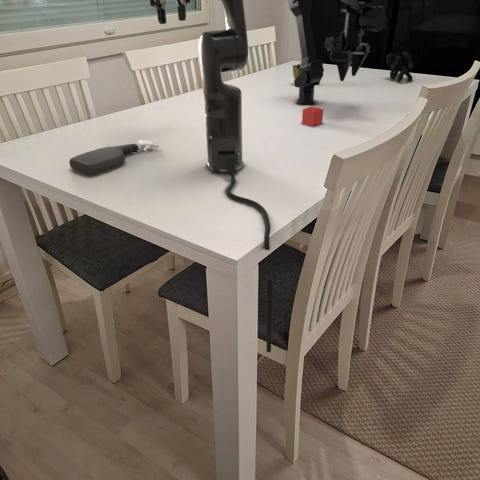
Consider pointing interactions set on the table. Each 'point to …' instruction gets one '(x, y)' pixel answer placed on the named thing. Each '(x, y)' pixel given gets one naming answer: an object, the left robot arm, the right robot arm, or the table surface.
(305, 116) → the block
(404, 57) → the squiggle
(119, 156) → the spray bottle
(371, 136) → the table surface
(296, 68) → the cup
